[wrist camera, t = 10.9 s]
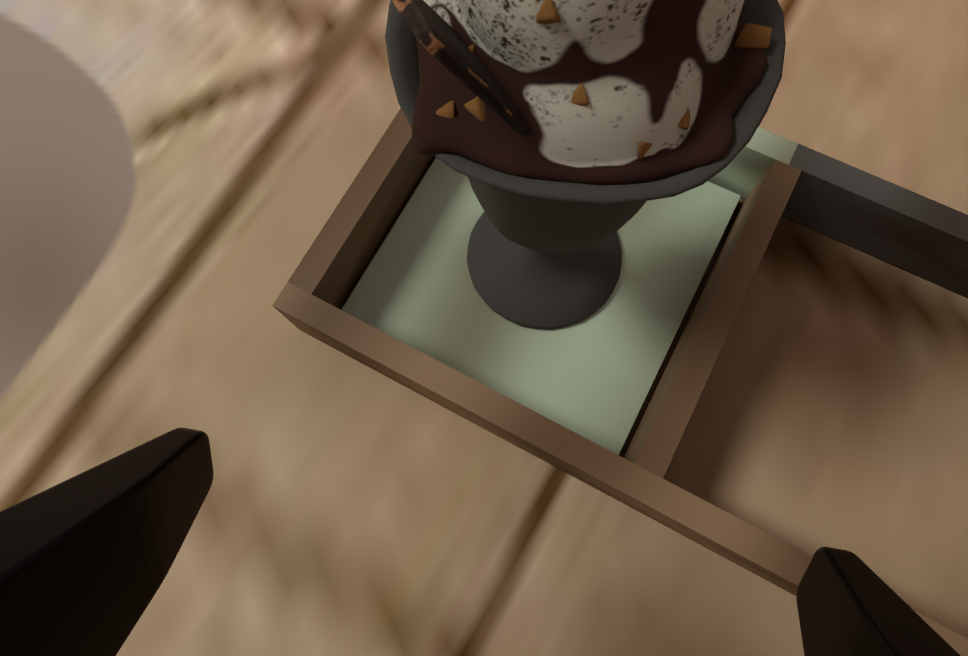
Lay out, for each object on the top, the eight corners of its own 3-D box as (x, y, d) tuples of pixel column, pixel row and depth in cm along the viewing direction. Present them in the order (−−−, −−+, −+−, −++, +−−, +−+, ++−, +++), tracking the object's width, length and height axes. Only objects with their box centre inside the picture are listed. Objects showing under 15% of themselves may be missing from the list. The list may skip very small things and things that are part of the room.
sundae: (655, 173, 21) (991, -559, 7) (639, 369, 19) (1055, -47, 5) (458, 150, 21) (372, -583, 7) (425, 340, 20) (216, -121, 5)
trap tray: (1503, 506, 18) (1658, 506, 15) (1453, 948, 15) (1633, 1031, 13) (472, 57, 23) (468, 4, 21) (299, 329, 20) (272, 305, 18)
